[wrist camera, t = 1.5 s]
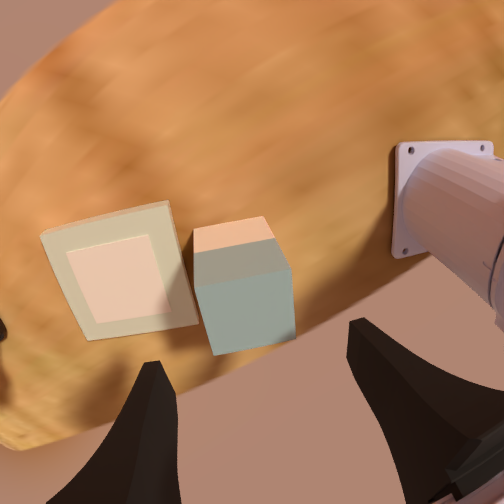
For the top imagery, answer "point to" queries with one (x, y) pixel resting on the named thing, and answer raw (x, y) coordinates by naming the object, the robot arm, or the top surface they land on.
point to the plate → (123, 272)
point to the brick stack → (243, 286)
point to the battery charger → (2, 330)
